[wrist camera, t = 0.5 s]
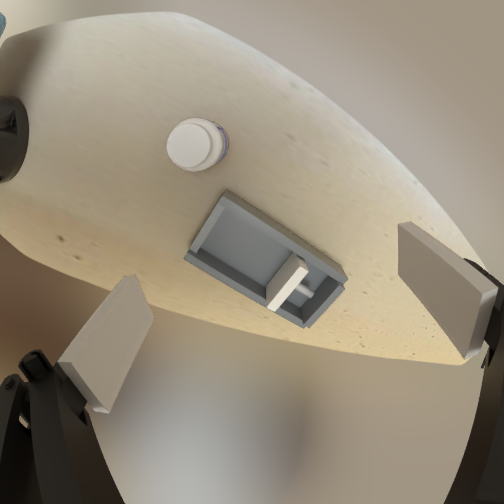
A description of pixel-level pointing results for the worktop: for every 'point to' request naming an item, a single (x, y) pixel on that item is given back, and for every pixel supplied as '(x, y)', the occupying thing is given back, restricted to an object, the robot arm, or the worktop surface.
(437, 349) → the worktop surface
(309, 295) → the pusher
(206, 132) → the pill bottle
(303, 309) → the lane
